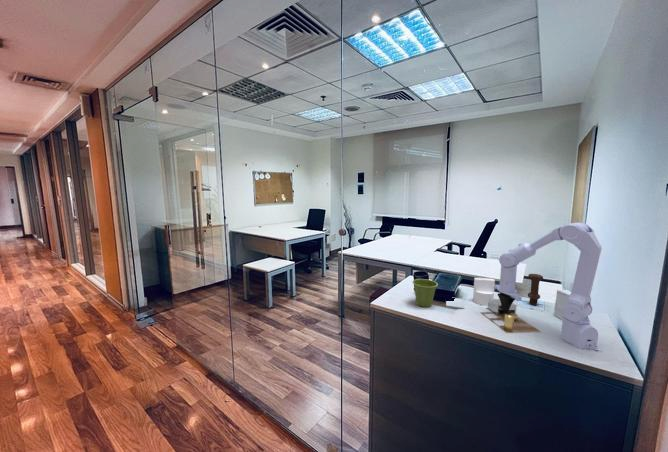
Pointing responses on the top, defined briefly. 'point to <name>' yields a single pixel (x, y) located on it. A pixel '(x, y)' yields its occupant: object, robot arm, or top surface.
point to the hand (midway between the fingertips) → (505, 310)
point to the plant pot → (424, 291)
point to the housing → (499, 306)
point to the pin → (508, 322)
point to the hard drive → (455, 304)
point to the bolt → (534, 288)
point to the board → (518, 324)
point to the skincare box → (561, 302)
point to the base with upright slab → (483, 290)
